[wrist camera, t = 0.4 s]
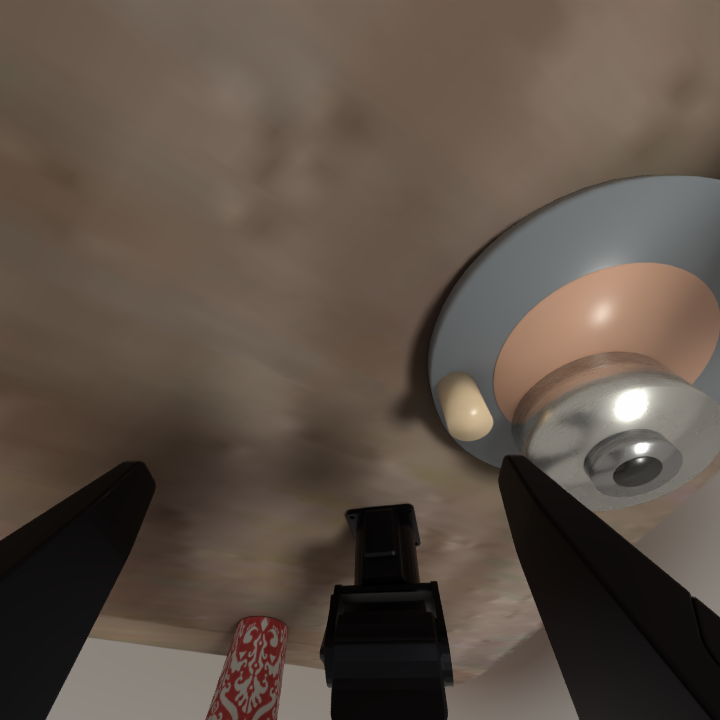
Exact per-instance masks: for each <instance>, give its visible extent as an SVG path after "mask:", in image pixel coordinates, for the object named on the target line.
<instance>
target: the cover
mask: <svg viewBox="0 0 720 720" xmlns="http://www.w3.org/2000/svg"><path fill="white" fill-rule="evenodd" d="M511 432H512V437H513V441H514V443H515V445H516V447H517V449H518V451H519V453H520V454H521V455H524V456H525V457H527V458H528V459H529V460H530V461H532V462H533V463H534V464H535V465H536V466H538V467H539V468H540V469H541V470H542V471H544V472H545V473H546V474H547V475H548V476H550V477H551V478H552V479H553V480H554V481H556V482H557V483H558V484H559V485H561V486H562V487H563V488H564V489H565V490H567V491H568V492H569V493H570V494H571V495H573V496H574V497H575V498H576V499H577V500H579V501H580V502H581V503H582V504H584V505H585V506H586V507H587V508H588V509H590V510H591V511H603V510H614V509H621V508H626V507H631V506H634V505H638V504H642V503H645V502H648V501H651V500H654V499H656V498H658V497H661V496H663V495H665V494H667V493H669V492H672V491H674V490H675V489H677V488H679V487H681V486H682V485H684V484H686V483H687V482H688V481H690V480H691V479H693V478H694V477H696V476H697V475H698V474H699V473H700V472H702V471H703V470H704V469H705V468H706V467H707V466H708V465H709V464H710V463H711V462H712V461H713V459H714V458H715V457H716V456H717V454H718V453H719V451H720V405H719V404H718V403H717V402H716V401H715V400H713V399H712V398H711V397H709V396H708V395H706V394H705V393H703V392H702V391H700V390H699V389H698V388H696V387H695V386H693V385H692V384H690V383H689V382H687V381H686V380H685V379H683V378H682V377H680V376H679V375H677V374H676V373H674V372H673V371H671V370H670V369H669V368H667V367H666V366H664V365H663V364H661V363H660V362H658V361H657V360H655V359H653V358H651V357H649V356H646V355H643V354H639V353H633V352H605V353H599V354H594V355H589V356H586V357H583V358H579V359H577V360H574V361H572V362H569V363H567V364H565V365H563V366H561V367H559V368H557V369H555V370H554V371H552V372H551V373H549V374H547V375H546V376H545V377H543V378H542V379H541V380H539V381H538V382H537V383H536V384H535V385H534V386H533V387H532V388H531V389H530V390H529V391H528V392H527V393H526V394H525V396H524V397H523V398H522V400H521V401H520V403H519V404H518V406H517V408H516V410H515V412H514V416H513V419H512V425H511Z"/></svg>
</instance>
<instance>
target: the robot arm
mask: <svg viewBox="0 0 720 720" xmlns="http://www.w3.org/2000/svg"><path fill="white" fill-rule="evenodd" d="M498 482H499V488H500V492H501V496H502V500H503V504H504V507H505V511H506V515H507V519H508V523H509V526H510V530H511V534H512V538H513V542H514V545H515V549H516V552H517V555H518V558H519V561H520V563H521V566H522V569H523V571H524V574H525V577H526V579H527V582H528V585H529V587H530V590H531V593H532V595H533V598H534V600H535V603H536V606H537V608H538V611H539V614H540V616H541V619H542V622H543V624H544V627H545V630H546V632H547V635H548V638H549V640H550V643H551V646H552V648H553V651H554V653H555V656H556V659H557V661H558V664H559V667H560V669H561V672H562V675H563V677H564V680H565V683H566V685H567V688H568V690H569V693H570V696H571V698H572V701H573V704H574V706H575V709H576V712H577V714H578V717H579V720H720V617H719V616H718V615H717V614H715V613H714V612H713V611H712V610H711V609H709V608H708V607H707V606H706V605H704V604H703V603H702V602H701V601H700V600H698V599H697V598H696V597H691V594H690V592H688V591H687V590H686V589H685V588H684V587H683V586H681V585H680V584H679V583H678V582H676V581H675V580H674V579H673V578H672V577H670V576H669V575H668V574H667V573H666V572H664V571H663V570H662V569H661V568H660V567H658V566H657V565H656V564H655V563H654V562H652V561H651V560H650V559H649V558H648V557H646V556H645V555H644V554H643V553H641V552H640V551H639V550H638V549H637V548H635V547H634V546H633V545H632V544H631V543H629V542H628V541H627V540H626V539H625V538H623V537H622V536H621V535H620V534H619V533H617V532H616V531H615V530H614V529H613V528H611V527H610V526H609V525H608V524H606V523H605V522H604V521H603V520H602V519H600V518H599V517H598V516H597V515H596V514H594V513H593V512H592V511H591V510H590V509H588V508H587V507H586V506H585V505H584V504H582V503H581V502H580V501H579V500H577V499H576V498H575V497H574V496H573V495H571V494H570V493H569V492H568V491H567V490H565V489H564V488H563V487H562V486H561V485H559V484H558V483H557V482H556V481H554V480H553V479H552V478H551V477H550V476H548V475H547V474H546V473H545V472H544V471H542V470H541V469H540V468H539V467H538V466H536V465H535V464H534V463H533V462H532V461H530V460H529V459H528V458H527V457H525V456H524V455H521V454H509V455H505V456H504V458H503V461H502V465H501V469H500V473H499V478H498ZM155 487H156V484H155V481H154V479H153V477H152V475H151V473H150V471H149V470H148V468H147V466H146V464H145V463H144V462H142V461H126V462H123V463H121V464H119V465H118V466H116V467H115V468H113V469H112V470H110V471H109V472H107V473H105V474H104V475H102V476H101V477H99V478H98V479H96V480H94V481H93V482H91V483H90V484H88V485H87V486H85V487H83V488H82V489H80V490H79V491H77V492H76V493H74V494H73V495H71V496H69V497H68V498H66V499H65V500H63V501H62V502H60V503H58V504H57V505H55V506H54V507H52V508H51V509H49V510H48V511H46V512H44V513H43V514H41V515H40V516H38V517H37V518H35V519H33V520H32V521H30V522H29V523H27V524H26V525H24V526H22V527H21V528H19V529H18V530H16V531H15V532H13V533H12V534H10V535H8V536H7V537H5V538H4V539H2V540H1V541H0V720H46V718H47V716H48V714H49V712H50V710H51V708H52V706H53V704H54V702H55V700H56V698H57V696H58V694H59V692H60V690H61V688H62V686H63V684H64V682H65V680H66V679H67V677H68V675H69V673H70V671H71V668H72V667H73V665H74V663H75V661H76V659H77V657H78V655H79V653H80V651H81V649H82V647H83V645H84V643H85V641H86V639H87V637H88V635H89V633H90V631H91V629H92V627H93V625H94V623H95V621H96V619H97V617H98V615H99V613H100V611H101V609H102V608H103V606H104V604H105V602H106V600H107V598H108V596H109V594H110V592H111V590H112V588H113V586H114V584H115V582H116V580H117V578H118V576H119V574H120V572H121V570H122V568H123V566H124V564H125V562H126V560H127V558H128V556H129V554H130V552H131V549H132V547H133V545H134V542H135V540H136V537H137V535H138V532H139V530H140V527H141V525H142V522H143V520H144V517H145V515H146V512H147V510H148V507H149V505H150V502H151V500H152V497H153V495H154V492H155ZM347 520H348V522H349V525H350V528H351V530H352V533H353V536H354V538H355V541H356V551H355V580H354V585H350V586H342V585H335V588H334V594H333V595H331V600H330V610H329V616H328V622H327V626H326V630H325V634H324V637H323V641H322V645H321V648H320V659H321V660H322V662H323V663H324V666H325V673H326V682H327V686H328V687H329V688H332V693H331V718H332V720H447V717H448V709H447V702H446V694H445V687H453V672H452V663H451V656H450V649H449V643H448V637H447V631H446V626H445V621H444V616H443V610H442V605H441V600H440V595H439V590H438V584H437V581H430V583H420V579H419V571H418V563H417V554H416V546H419V545H420V537H419V532H418V527H417V522H416V517H415V512H414V507H413V506H412V505H399V506H390V507H380V508H371V509H361V510H352V511H348V512H347ZM444 686H445V687H444Z"/></svg>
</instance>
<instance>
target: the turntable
mask: <svg viewBox="0 0 720 720" xmlns="http://www.w3.org/2000/svg"><path fill="white" fill-rule="evenodd" d="M605 352H633V353H639V354H643V355H646V356H649V357H651V358H653V359H655V360H657V361H658V362H660V363H661V364H663V365H664V366H666V367H667V368H669V369H670V370H671V371H673V372H674V373H676V374H677V375H679V376H680V377H682V378H683V379H685V380H686V381H687V382H689V383H690V384H692V385H693V386H695V387H696V388H698V389H699V390H700V391H702V392H703V393H705V394H706V395H708V396H709V397H711V398H712V399H713V400H715V401H716V402H717V403H718V404H719V405H720V180H719V179H712V178H705V177H699V176H677V175H641V176H635V177H628V178H621V179H614V180H610V181H607V182H603V183H600V184H596V185H593V186H589V187H585V188H583V189H580V190H578V191H575V192H573V193H571V194H568V195H566V196H563V197H561V198H558V199H556V200H554V201H553V202H551V203H549V204H547V205H545V206H543V207H542V208H540V209H538V210H536V211H534V212H532V213H531V214H529V215H528V216H526V217H525V218H523V219H522V220H520V221H519V222H518V223H516V224H515V225H513V226H512V227H510V228H509V229H507V230H506V231H505V232H504V233H503V234H502V235H500V236H499V237H498V238H497V239H496V240H495V241H493V242H492V243H491V244H490V245H489V246H488V247H487V248H486V249H485V250H484V251H483V252H482V253H481V254H480V255H479V256H478V257H477V258H476V259H475V260H474V261H473V262H472V264H471V265H470V266H469V267H468V268H467V269H466V271H465V272H464V273H463V275H462V276H461V277H460V279H459V280H458V281H457V283H456V284H455V286H454V287H453V289H452V290H451V292H450V294H449V296H448V297H447V299H446V301H445V303H444V304H443V306H442V309H441V311H440V313H439V316H438V318H437V321H436V323H435V326H434V329H433V333H432V337H431V340H430V345H429V354H428V378H429V383H430V388H431V392H432V396H433V400H434V403H435V407H436V409H437V412H438V415H439V417H440V420H441V421H442V423H443V425H444V426H445V428H446V430H447V431H448V433H449V434H450V435H451V436H452V438H453V439H454V440H455V441H456V442H457V443H458V444H459V445H460V446H461V447H462V448H464V449H465V450H466V451H467V452H468V453H470V454H471V455H473V456H475V457H476V458H478V459H479V460H481V461H483V462H485V463H488V464H490V465H492V466H494V467H497V468H500V469H501V465H502V461H503V458H504V456H505V455H509V454H520V453H519V451H518V449H517V447H516V445H515V443H514V441H513V437H512V432H511V425H512V419H513V416H514V412H515V410H516V408H517V406H518V404H519V403H520V401H521V400H522V398H523V397H524V396H525V394H526V393H527V392H528V391H529V390H530V389H531V388H532V387H533V386H534V385H535V384H536V383H537V382H538V381H539V380H541V379H542V378H543V377H545V376H546V375H547V374H549V373H551V372H552V371H554V370H555V369H557V368H559V367H561V366H563V365H565V364H567V363H569V362H572V361H574V360H577V359H579V358H583V357H586V356H589V355H594V354H599V353H605Z"/></svg>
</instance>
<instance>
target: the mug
mask: <svg viewBox="0 0 720 720" xmlns="http://www.w3.org/2000/svg"><path fill="white" fill-rule="evenodd" d="M287 638H288V628H287V626H286V625H285V624H284V623H282V622H281V621H279V620H276V619H273V618H269V617H263V616H254V617H247V618H245V619H242V620H241V621H240V622H239V623H238V625H237V628H236V631H235V634H234V637H233V640H232V643H231V646H230V649H229V652H228V655H227V658H226V661H225V664H224V667H223V670H222V673H221V676H220V678H219V681H218V685H217V688H216V691H215V694H214V696H213V699H212V702H211V705H210V708H209V711H208V714H207V717H206V720H277V714H278V707H279V700H280V692H281V685H282V676H283V668H284V660H285V652H286V645H287Z"/></svg>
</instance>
